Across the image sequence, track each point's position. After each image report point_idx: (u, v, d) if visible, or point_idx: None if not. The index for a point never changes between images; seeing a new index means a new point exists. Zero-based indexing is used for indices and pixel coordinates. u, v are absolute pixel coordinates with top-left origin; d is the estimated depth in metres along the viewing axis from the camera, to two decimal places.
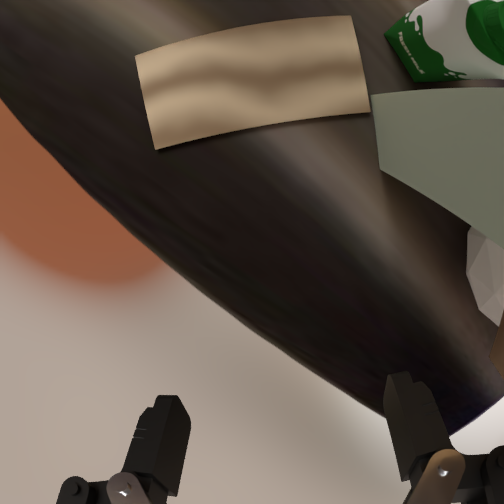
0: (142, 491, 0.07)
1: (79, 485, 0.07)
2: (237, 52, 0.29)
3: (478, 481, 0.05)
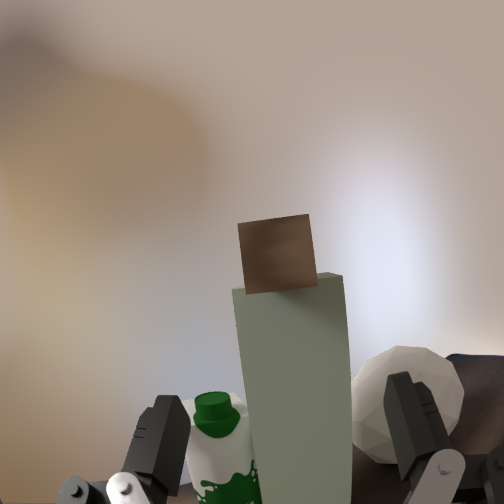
0: (142, 491, 0.07)
1: (79, 485, 0.07)
2: None
3: (478, 481, 0.05)
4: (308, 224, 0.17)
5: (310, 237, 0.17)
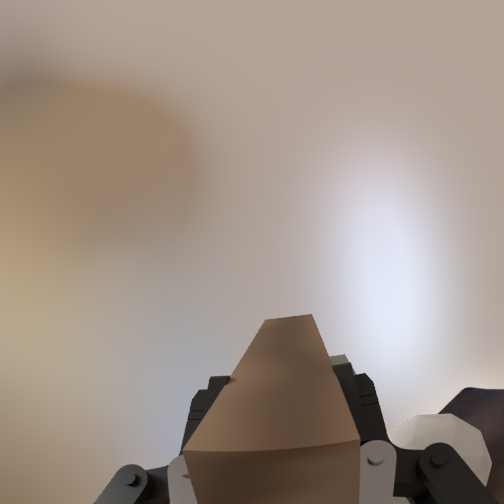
0: None
1: (135, 474, 0.07)
2: None
3: (412, 476, 0.06)
4: (356, 460, 0.06)
5: (356, 482, 0.06)
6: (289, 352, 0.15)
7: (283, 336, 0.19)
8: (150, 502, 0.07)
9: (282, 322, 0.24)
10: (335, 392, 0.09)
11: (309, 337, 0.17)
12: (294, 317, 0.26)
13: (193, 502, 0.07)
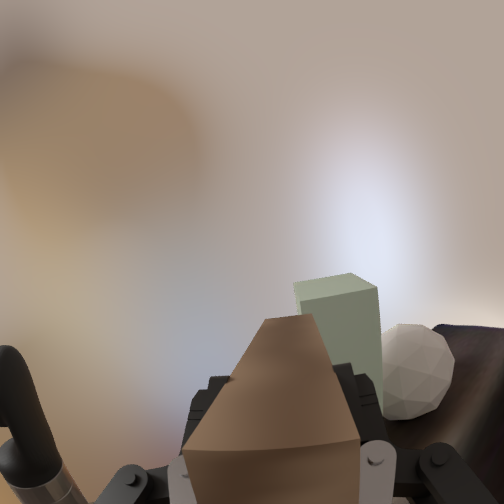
0: None
1: (135, 474, 0.07)
2: None
3: (413, 476, 0.06)
4: (356, 460, 0.06)
5: (356, 481, 0.06)
6: (289, 351, 0.15)
7: (283, 335, 0.19)
8: (150, 502, 0.07)
9: (282, 321, 0.24)
10: (334, 392, 0.09)
11: (309, 336, 0.17)
12: (294, 316, 0.26)
13: (193, 502, 0.07)
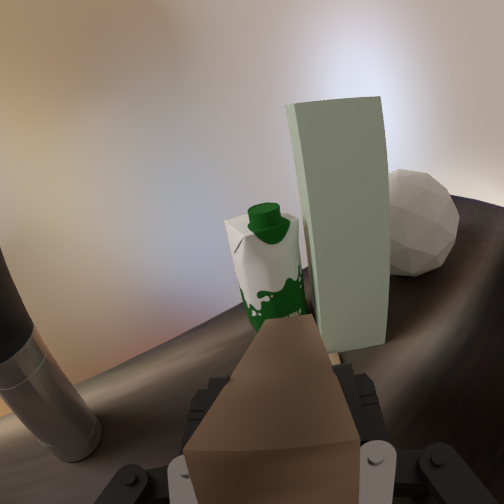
0: None
1: (135, 474, 0.07)
2: None
3: (413, 476, 0.06)
4: (356, 460, 0.06)
5: (356, 481, 0.06)
6: (289, 352, 0.15)
7: (283, 336, 0.19)
8: (150, 502, 0.07)
9: (282, 322, 0.24)
10: (334, 392, 0.09)
11: (309, 337, 0.17)
12: (294, 317, 0.26)
13: (193, 502, 0.07)
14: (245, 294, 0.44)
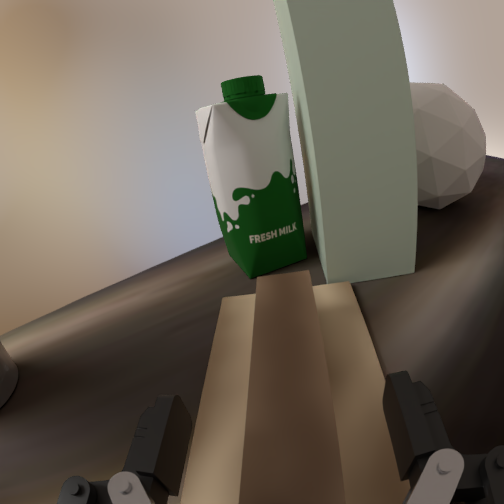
0: (143, 491, 0.07)
1: (80, 485, 0.07)
2: (245, 413, 0.18)
3: (477, 481, 0.05)
4: None
5: None
6: (295, 405, 0.13)
7: (284, 347, 0.17)
8: None
9: (278, 292, 0.22)
10: None
11: (313, 359, 0.16)
12: (290, 277, 0.24)
13: None
14: (218, 200, 0.32)
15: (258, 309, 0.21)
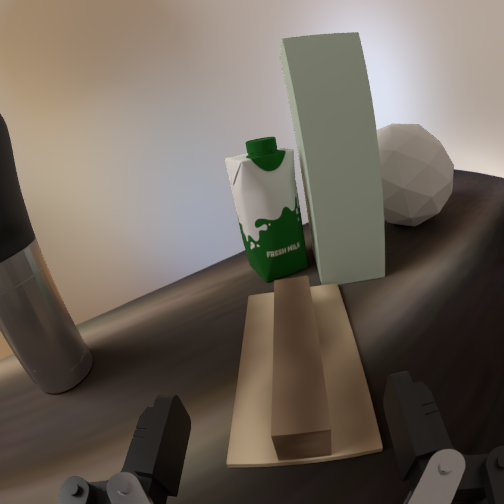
0: (142, 491, 0.07)
1: (79, 485, 0.07)
2: (269, 363, 0.30)
3: (478, 481, 0.05)
4: (329, 434, 0.18)
5: (330, 438, 0.18)
6: (299, 347, 0.26)
7: (292, 319, 0.30)
8: None
9: (288, 289, 0.35)
10: (323, 396, 0.21)
11: (309, 325, 0.29)
12: (295, 280, 0.36)
13: None
14: (244, 226, 0.45)
15: (276, 299, 0.34)
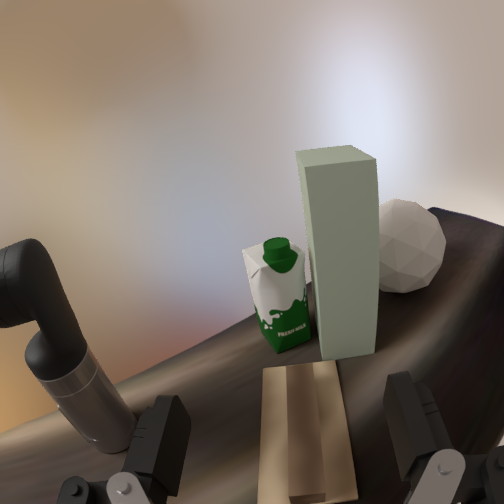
0: (142, 491, 0.07)
1: (79, 485, 0.07)
2: (282, 434, 0.38)
3: (478, 481, 0.05)
4: (324, 494, 0.26)
5: (324, 496, 0.26)
6: (306, 432, 0.34)
7: (301, 407, 0.38)
8: None
9: (297, 377, 0.43)
10: (321, 470, 0.29)
11: (313, 413, 0.36)
12: (302, 367, 0.44)
13: None
14: (259, 311, 0.52)
15: (288, 387, 0.41)
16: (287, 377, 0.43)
